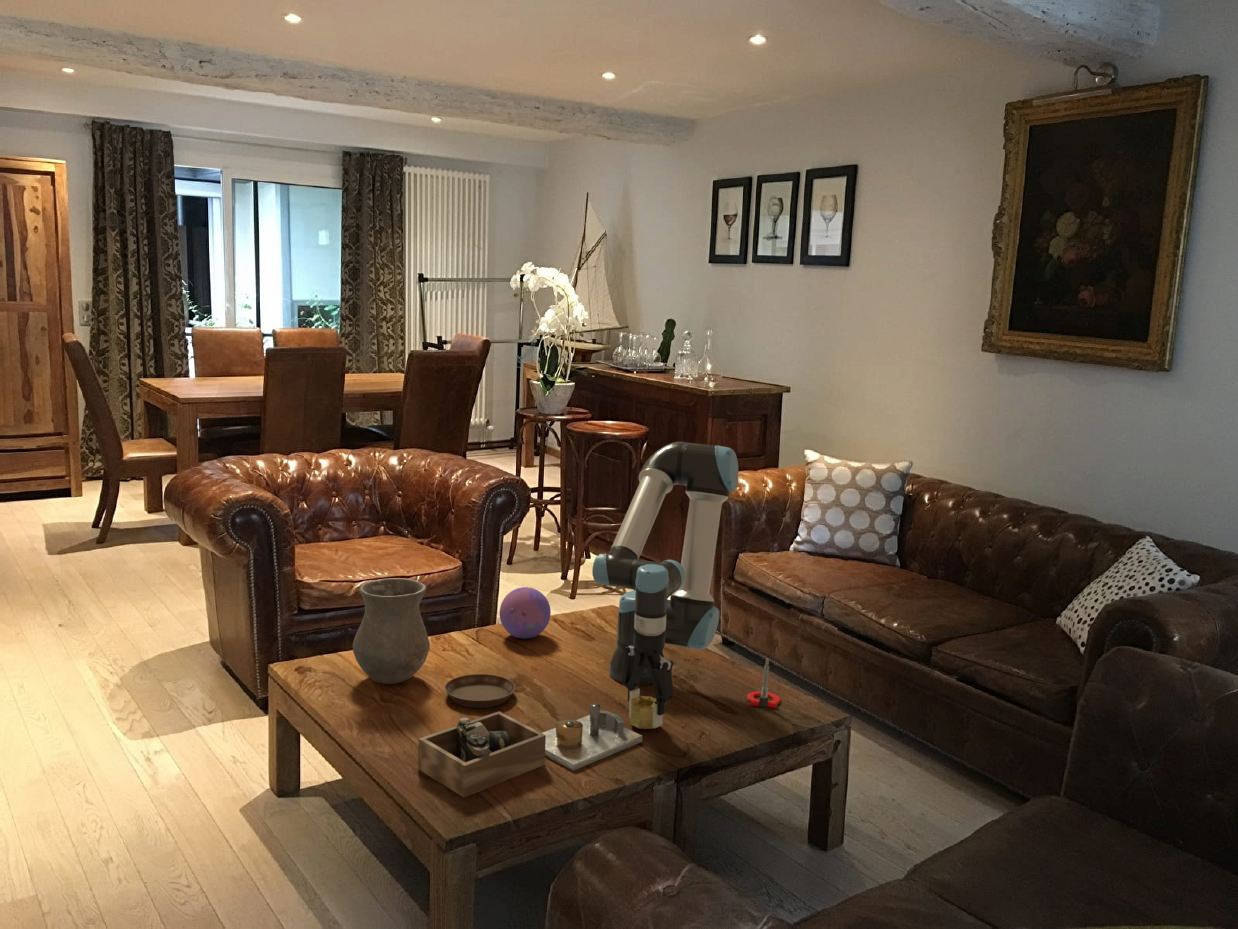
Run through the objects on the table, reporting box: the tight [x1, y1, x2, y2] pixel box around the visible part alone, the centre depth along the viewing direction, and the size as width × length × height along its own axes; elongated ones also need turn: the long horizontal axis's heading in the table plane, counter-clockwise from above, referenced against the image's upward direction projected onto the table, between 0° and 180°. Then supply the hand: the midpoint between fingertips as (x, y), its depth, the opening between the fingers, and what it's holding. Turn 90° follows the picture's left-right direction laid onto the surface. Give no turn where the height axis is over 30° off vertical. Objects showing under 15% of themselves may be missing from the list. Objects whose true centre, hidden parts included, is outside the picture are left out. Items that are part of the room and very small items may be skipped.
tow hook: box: [746, 657, 781, 709], centre depth 264 cm, size 8×13×9 cm
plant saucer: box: [444, 673, 516, 709], centre depth 258 cm, size 18×18×3 cm
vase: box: [352, 577, 431, 685], centre depth 263 cm, size 20×19×25 cm
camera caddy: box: [417, 711, 546, 798], centre depth 221 cm, size 16×22×7 cm
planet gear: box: [629, 695, 656, 730], centre depth 245 cm, size 7×7×5 cm
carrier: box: [542, 703, 643, 771], centre depth 234 cm, size 16×22×8 cm
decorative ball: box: [499, 586, 552, 640], centre depth 301 cm, size 15×15×15 cm
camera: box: [456, 716, 511, 762], centre depth 220 cm, size 16×10×10 cm, turn 25°
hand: (645, 720), depth 245 cm, fingers closed on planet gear, 7 cm apart
